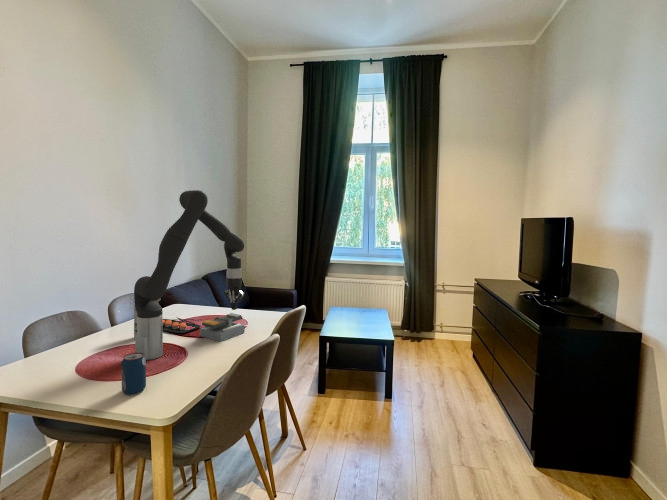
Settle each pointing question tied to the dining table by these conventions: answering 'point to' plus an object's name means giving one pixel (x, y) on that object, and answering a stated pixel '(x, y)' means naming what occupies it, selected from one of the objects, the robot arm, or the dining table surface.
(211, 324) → the breaker rocker
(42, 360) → the dining table surface
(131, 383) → the soda can
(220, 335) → the switch box
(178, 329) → the sushi plate
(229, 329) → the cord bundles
